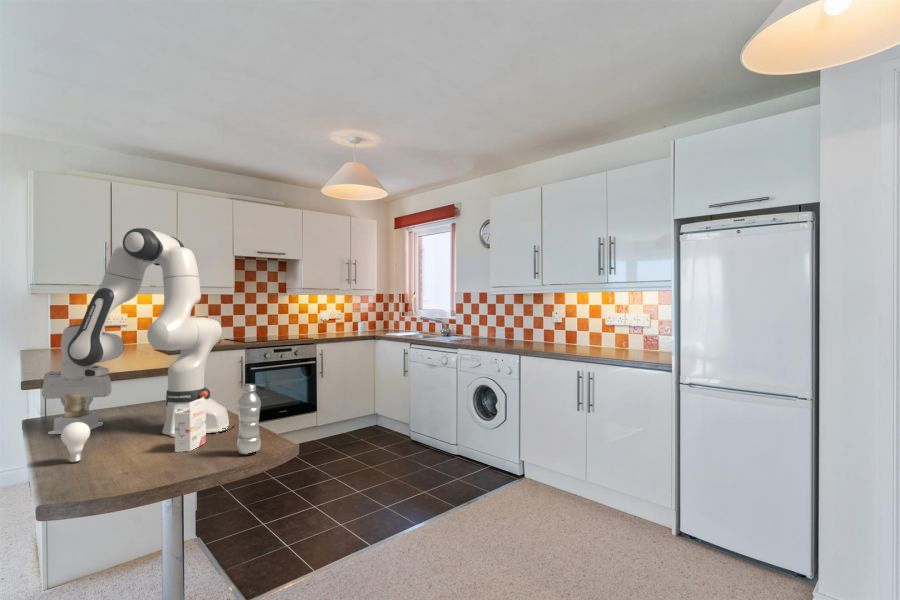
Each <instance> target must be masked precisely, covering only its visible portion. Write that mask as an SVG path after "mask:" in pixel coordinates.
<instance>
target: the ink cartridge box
mask: <svg viewBox="0 0 900 600" xmlns="http://www.w3.org/2000/svg"><path fill="white" fill-rule="evenodd" d="M197 402H198V403H200V405H198V406H195V404H197ZM174 414H175V437H174V452H175V453H184V452H183V451H191V450H193V449H195V448H197V447H199V446H200V445H202V444H204V443H205V442H206V443H207V434H206V406H205V398H204V397H203V398H201V399H198V400H195V401H192V402H190V403H189V408H187V409H184V410H181V411H179V412H176V413H174ZM204 445H205V444H204ZM199 448H200V447H199ZM197 449H198V448H197ZM195 450H196V449H195ZM180 451H181V452H180Z"/></svg>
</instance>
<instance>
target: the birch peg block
mask: <svg viewBox="0 0 900 600" xmlns="http://www.w3.org/2000/svg"><path fill="white" fill-rule="evenodd" d="M86 402H87V401H85V398H80V395H65V411H64V416H65V418H79V417H81V416H84V415H87V414H89V412H90V409H89V410H87V411H82V406H83V405H85V403H86Z"/></svg>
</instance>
